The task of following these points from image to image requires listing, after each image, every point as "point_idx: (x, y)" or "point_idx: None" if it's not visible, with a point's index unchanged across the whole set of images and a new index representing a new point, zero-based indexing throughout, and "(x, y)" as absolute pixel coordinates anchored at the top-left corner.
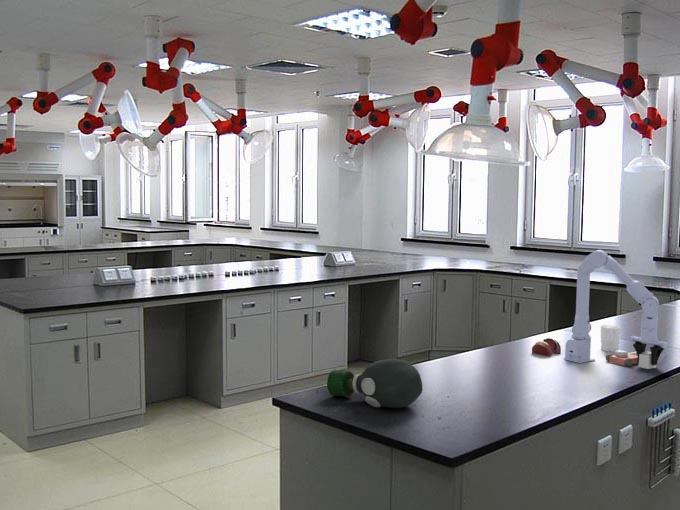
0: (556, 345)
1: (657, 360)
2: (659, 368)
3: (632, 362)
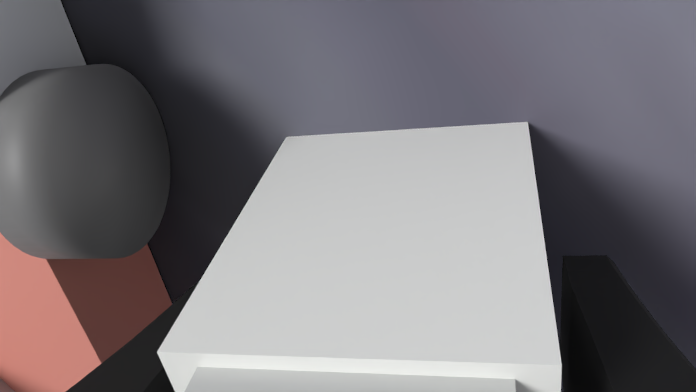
0: None
1: (656, 335)
2: (630, 129)
3: None
